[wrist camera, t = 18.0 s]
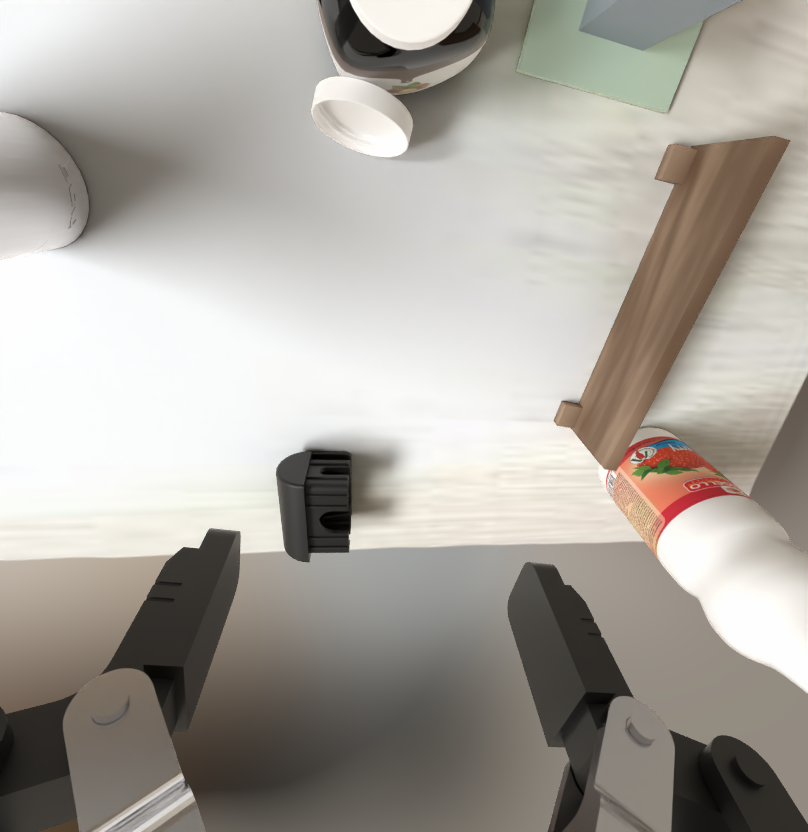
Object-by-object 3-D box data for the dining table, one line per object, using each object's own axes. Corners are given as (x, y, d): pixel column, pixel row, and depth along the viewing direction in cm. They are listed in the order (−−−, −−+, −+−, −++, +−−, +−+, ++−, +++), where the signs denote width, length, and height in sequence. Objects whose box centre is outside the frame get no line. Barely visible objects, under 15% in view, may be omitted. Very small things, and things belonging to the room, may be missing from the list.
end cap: (283, 446, 45) (269, 485, 39) (351, 447, 46) (347, 486, 40) (290, 518, 50) (279, 563, 44) (351, 518, 50) (348, 563, 44)
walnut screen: (552, 423, 45) (585, 466, 38) (670, 140, 34) (748, 128, 27) (595, 429, 46) (634, 473, 39) (725, 155, 34) (815, 147, 27)
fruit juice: (579, 480, 49) (782, 772, 25) (627, 413, 45) (925, 681, 21) (644, 501, 52) (890, 788, 27) (695, 439, 48) (1038, 709, 23)
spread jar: (466, -63, 28) (521, -211, 17) (479, 142, 33) (526, 122, 23) (285, -28, 28) (233, -152, 18) (327, 170, 33) (306, 162, 23)
